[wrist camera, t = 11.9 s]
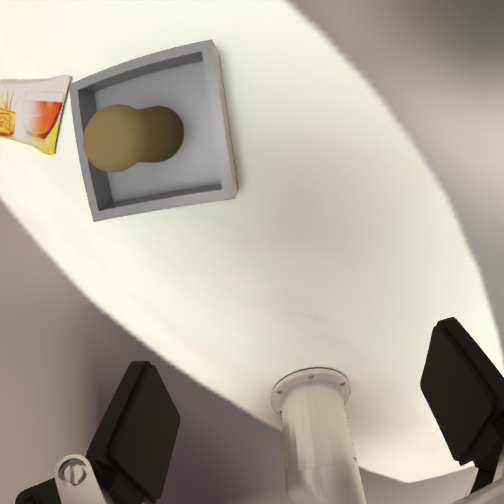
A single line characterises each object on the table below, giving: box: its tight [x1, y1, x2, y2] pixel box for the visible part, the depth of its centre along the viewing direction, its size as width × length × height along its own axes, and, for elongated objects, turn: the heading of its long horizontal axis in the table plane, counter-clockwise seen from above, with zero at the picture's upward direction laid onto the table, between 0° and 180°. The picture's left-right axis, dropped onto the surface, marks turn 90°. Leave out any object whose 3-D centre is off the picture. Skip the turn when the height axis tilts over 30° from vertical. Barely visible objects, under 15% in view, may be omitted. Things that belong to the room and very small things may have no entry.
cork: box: [83, 104, 184, 173], centre depth 22 cm, size 6×6×11 cm
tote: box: [69, 40, 238, 222], centre depth 26 cm, size 15×15×4 cm
